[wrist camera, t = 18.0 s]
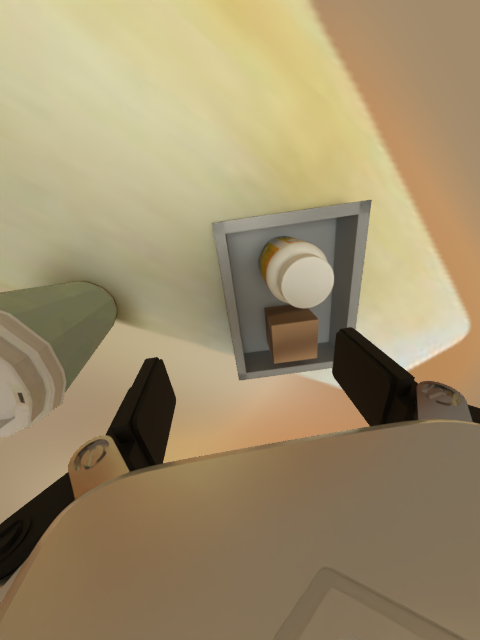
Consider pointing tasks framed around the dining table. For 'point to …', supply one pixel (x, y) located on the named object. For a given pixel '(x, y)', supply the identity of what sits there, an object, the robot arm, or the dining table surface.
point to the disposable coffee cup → (47, 346)
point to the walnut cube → (291, 333)
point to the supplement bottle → (296, 271)
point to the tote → (254, 295)
